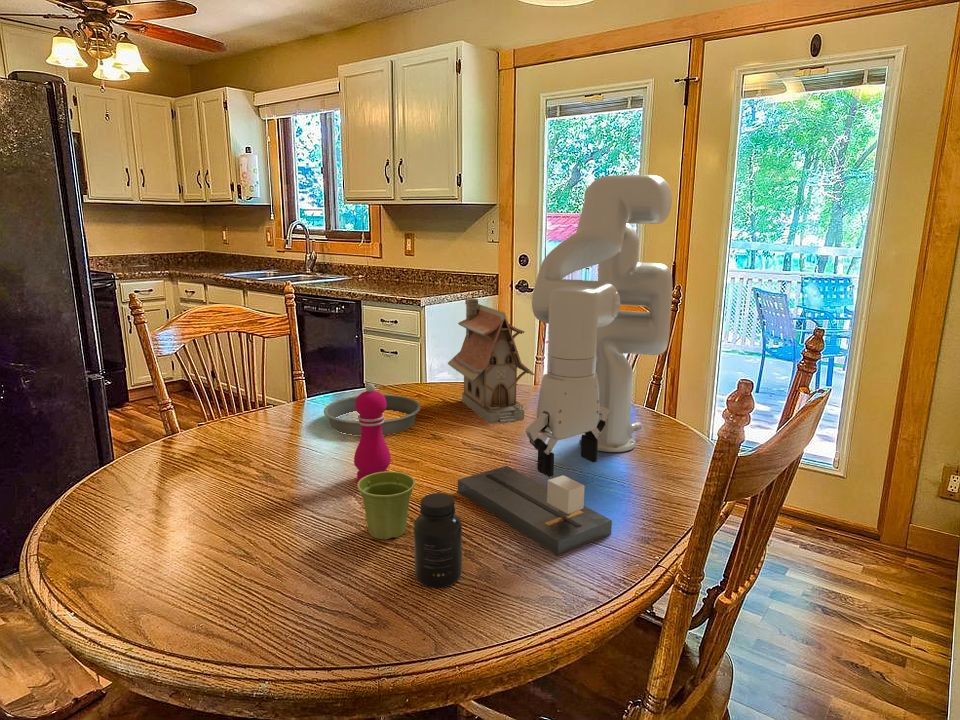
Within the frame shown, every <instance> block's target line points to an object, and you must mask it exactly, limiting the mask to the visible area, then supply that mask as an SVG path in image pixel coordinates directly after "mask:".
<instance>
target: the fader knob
mask: <svg viewBox="0 0 960 720" xmlns="http://www.w3.org/2000/svg"><path fill="white" fill-rule="evenodd" d="M584 502H585V484H583V483H580V482H578V481H576V480H574V479H572V478H570V477H568V476H566V475H560V476H557V477H552V478H551V479H550V478H549V479H548V480H547V503H549V504H551V505H552V506H554V507H556V508H558V509H559V514H561V515H563V516H565V517H567V516H570V513H572V512H575V511H578V510H580V509H583V506H585V505H584Z"/></svg>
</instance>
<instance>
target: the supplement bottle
mask: <svg viewBox="0 0 960 720" xmlns="http://www.w3.org/2000/svg"><path fill="white" fill-rule="evenodd" d="M419 511H420V514H419V515H418V516H417V517H416V519H415V520H414V523H413V524H414V525H413V537H414V538H413V539H414V541H413V544H414V547H413V548H414V573H415V578H416V580H417V581H418V582H419V583H420V584H422V585H423V586H425V587H428V588H433V589H435V588H436V589H441V588H446V587H451V586H452V585H454V584H455V583H457V582H458V581H459V579H460V578H461V576H462V573H463V556H462V555H463V538H462V537H463V532H462V531H463V527H462V524H463V523H462V520H461V518H460V516H459V515H457V513H456V506H455V498H454V497H453V496H452V495H450V494H447V493H442V492H439V493H438V492H435V493H429V494H426V495H425V496H423V497H422V498H421V499H420V509H419Z"/></svg>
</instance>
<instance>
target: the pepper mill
mask: <svg viewBox="0 0 960 720" xmlns="http://www.w3.org/2000/svg"><path fill="white" fill-rule="evenodd" d="M375 389H376V386H375V384H374V383H372V382H370V383H367V384H366V385H365V391H363V392H361V393H359V395H357V396H358V397H357V399H356V402H355V408H356V411H357V412H358V413H359V414H360V415H359V416H358V419H359V421H358V423H359V424H360V425H361V436H360V438H359V442H358V445H357V447H356V450H355V453H354V457H353V464H354V466H355V468H356V469H357V470H358V471H357V472H356V481H357V483H358V482H359V480H361V479H362V478H363V477H365V476H367V475H370V474H373V473H378V472H387V471H389V469H388V467H389V466H390V465H391V462H392V457H391V452H390V449H389V447H388V445H387V443H386V440H385V438H384V436H383V434H382V424H383V423H384V415H383V414H382V413H383V412H384V411H385V409H386V399H385V397H384V396H383V395H384V394H383V393H381V392H380V391H377V390H375Z"/></svg>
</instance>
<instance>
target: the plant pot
mask: <svg viewBox="0 0 960 720" xmlns="http://www.w3.org/2000/svg"><path fill="white" fill-rule="evenodd" d="M356 484H357V485H356V486H357V489H358V491H359V492H360V496H361V498H362V500H363V506H364V512H365V517H366V524H367V529H368V533H369V534H370V535H371V537H372V538H375V539H379V540H388V539H391V538H397V539H398V538H399V537H401V536H403V534H405V532H406V529H407V522H408V516H409V515H408V514H409V508H410V507H409V506H410V501H411V495H412V493H413V490H414V488H415V486H416V480H415V478H414V477H413V476H411V475H410V474H408V473H404V472H401V471H392V470H391V471H390V470H388V471H387V472H378V473H373V474H370V475H367V476H365V477H363V478H362V479H361V480H359V482H357V483H356Z"/></svg>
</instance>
